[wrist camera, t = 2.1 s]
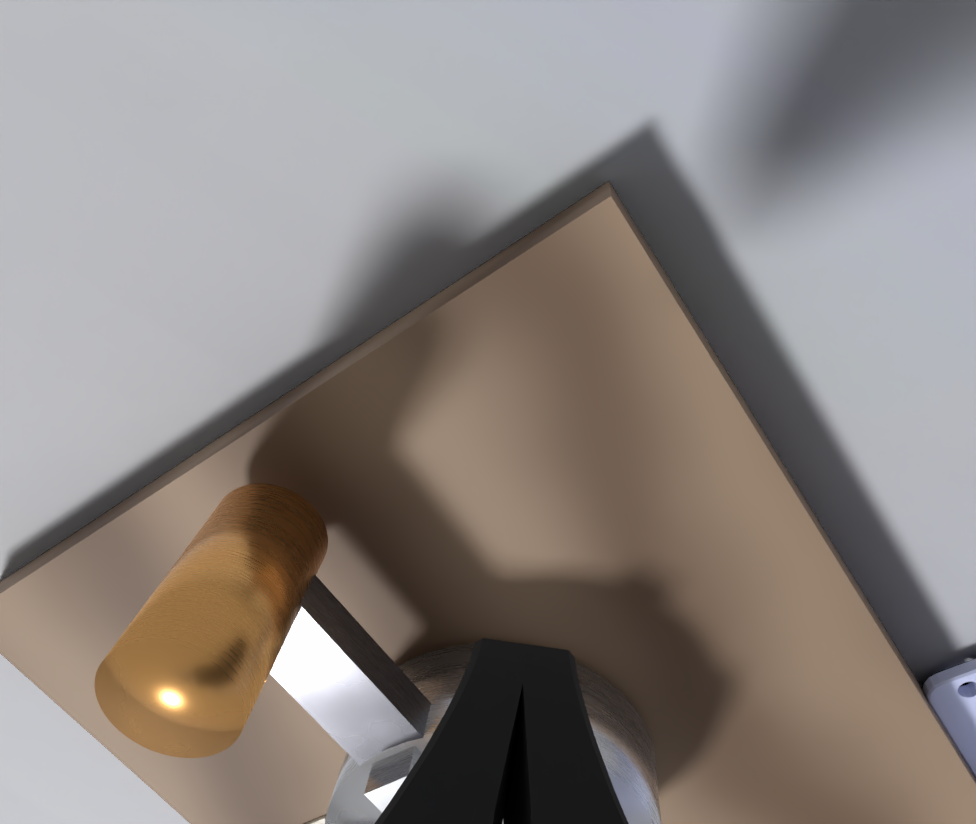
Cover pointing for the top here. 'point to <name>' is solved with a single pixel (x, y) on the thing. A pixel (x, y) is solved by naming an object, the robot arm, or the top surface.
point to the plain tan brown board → (535, 551)
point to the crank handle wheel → (307, 663)
